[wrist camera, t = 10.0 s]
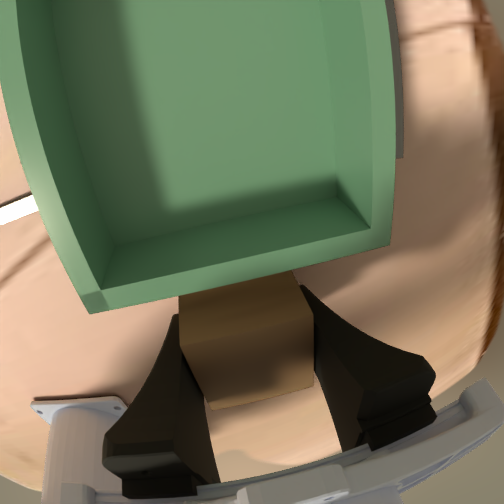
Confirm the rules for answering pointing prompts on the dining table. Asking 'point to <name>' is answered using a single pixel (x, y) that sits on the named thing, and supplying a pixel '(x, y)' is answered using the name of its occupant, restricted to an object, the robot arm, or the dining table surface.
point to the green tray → (200, 137)
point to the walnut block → (248, 339)
